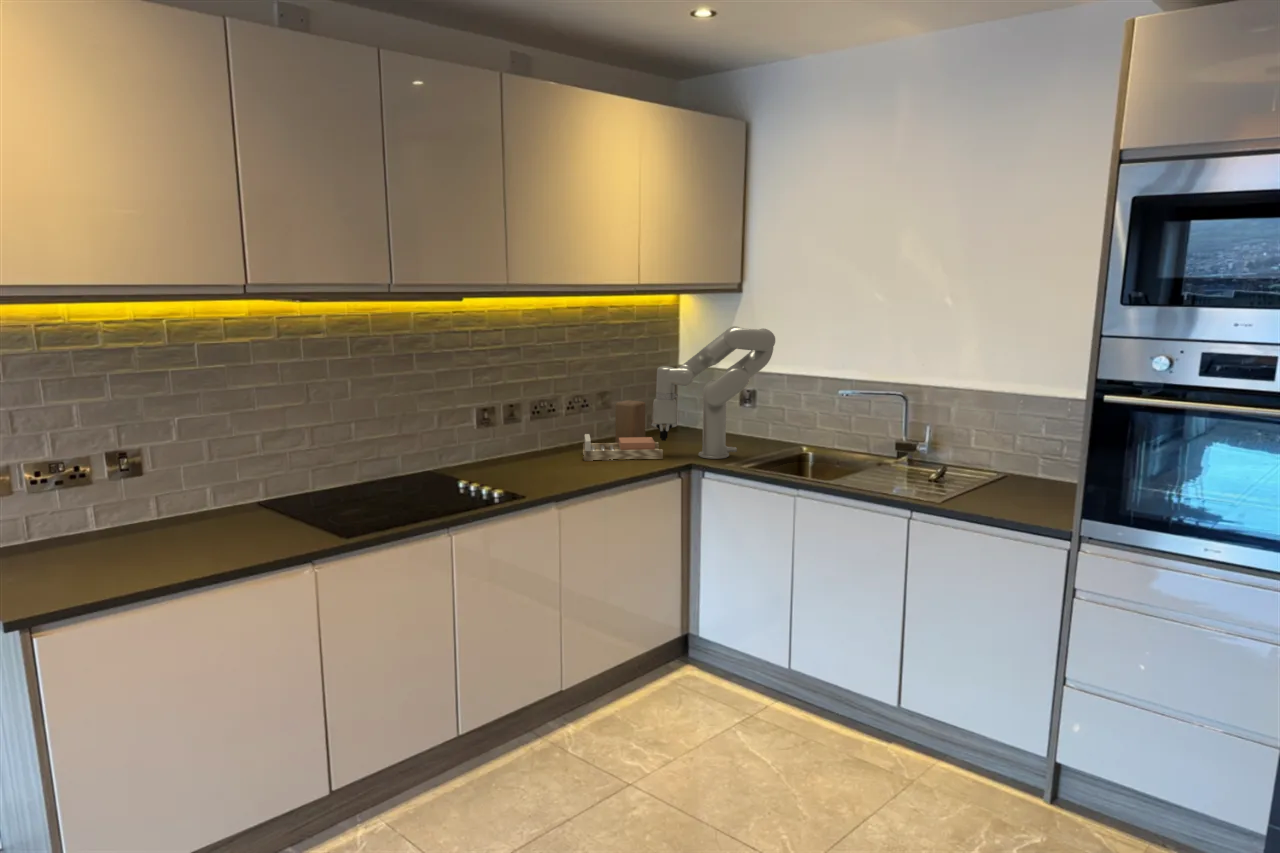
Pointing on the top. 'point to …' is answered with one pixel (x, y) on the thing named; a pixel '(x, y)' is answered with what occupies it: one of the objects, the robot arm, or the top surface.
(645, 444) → the slab
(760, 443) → the top surface
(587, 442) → the end stop
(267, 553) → the top surface
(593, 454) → the roller bed
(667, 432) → the robot arm
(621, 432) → the wooden block
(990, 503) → the top surface
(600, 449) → the rollers
